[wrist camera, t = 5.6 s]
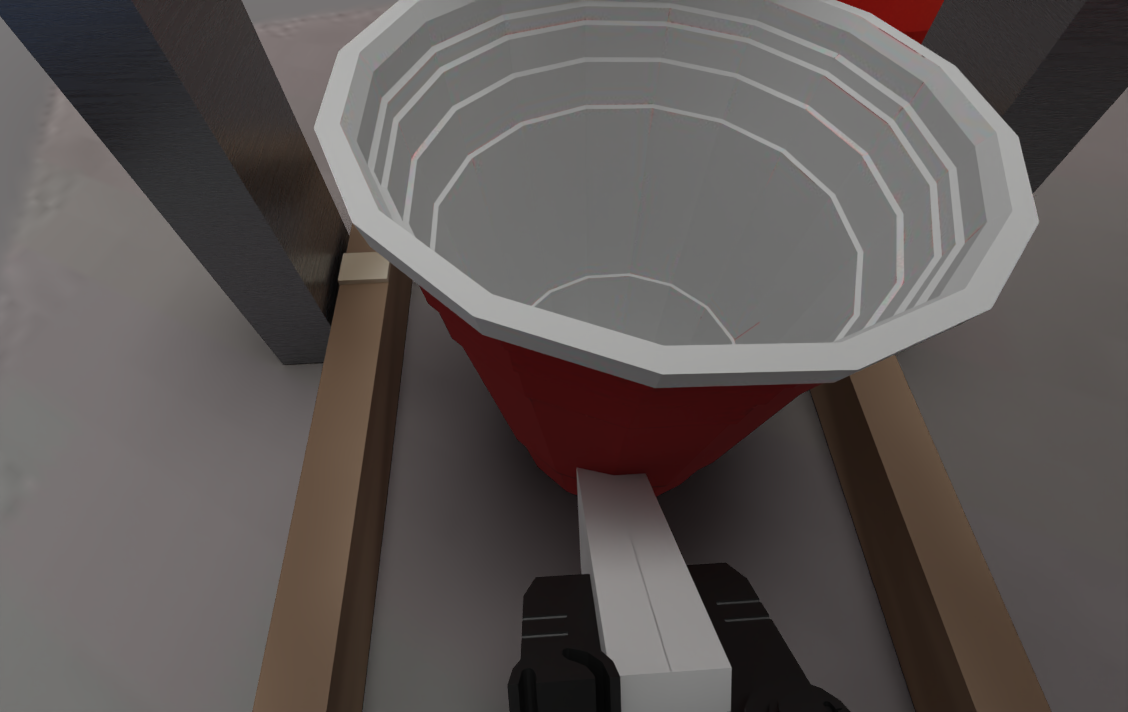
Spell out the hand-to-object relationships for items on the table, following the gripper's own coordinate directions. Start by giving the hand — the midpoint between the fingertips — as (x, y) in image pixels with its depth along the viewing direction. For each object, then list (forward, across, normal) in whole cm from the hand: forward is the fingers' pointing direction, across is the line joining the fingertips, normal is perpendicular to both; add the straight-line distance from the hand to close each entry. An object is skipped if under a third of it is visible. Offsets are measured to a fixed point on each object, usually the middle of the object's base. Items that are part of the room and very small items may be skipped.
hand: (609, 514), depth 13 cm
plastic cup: (+6, +1, 0) cm, 6 cm away
